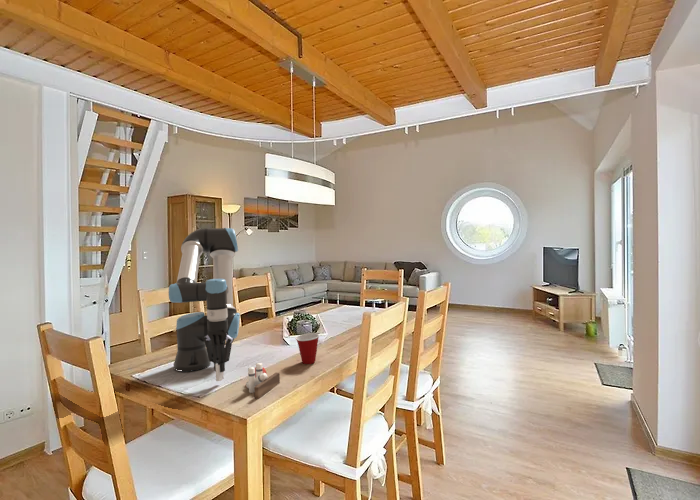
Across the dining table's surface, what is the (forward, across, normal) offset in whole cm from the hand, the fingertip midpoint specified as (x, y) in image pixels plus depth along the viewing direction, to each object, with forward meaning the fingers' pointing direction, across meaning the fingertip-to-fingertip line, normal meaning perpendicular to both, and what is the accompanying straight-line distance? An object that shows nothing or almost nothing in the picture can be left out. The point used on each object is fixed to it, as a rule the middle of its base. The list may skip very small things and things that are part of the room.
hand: (219, 379), depth 151 cm
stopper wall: (+2, +21, 0) cm, 21 cm away
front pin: (+1, +13, 0) cm, 13 cm away
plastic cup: (+2, +22, +33) cm, 40 cm away
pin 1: (+2, +16, -2) cm, 16 cm away
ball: (-1, +13, +6) cm, 15 cm away
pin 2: (+2, +16, +2) cm, 16 cm away
